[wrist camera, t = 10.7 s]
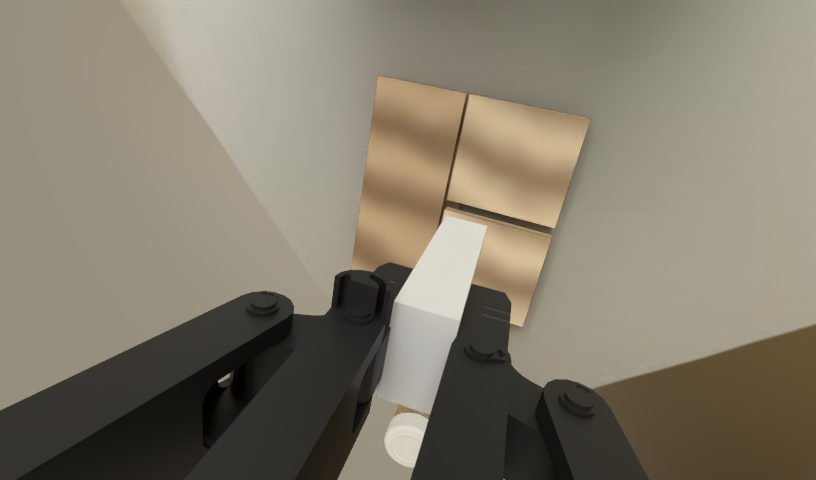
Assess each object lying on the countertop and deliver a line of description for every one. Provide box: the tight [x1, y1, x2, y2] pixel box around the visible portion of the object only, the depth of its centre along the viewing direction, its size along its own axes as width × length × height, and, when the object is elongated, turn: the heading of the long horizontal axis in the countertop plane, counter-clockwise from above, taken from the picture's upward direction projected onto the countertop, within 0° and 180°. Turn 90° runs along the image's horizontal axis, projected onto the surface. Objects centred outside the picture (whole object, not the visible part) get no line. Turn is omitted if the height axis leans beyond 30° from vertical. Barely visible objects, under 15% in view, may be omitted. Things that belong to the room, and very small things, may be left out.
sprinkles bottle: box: [384, 405, 430, 468], centre depth 43 cm, size 5×5×13 cm
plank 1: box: [447, 94, 590, 228], centre depth 39 cm, size 10×10×1 cm
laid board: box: [351, 76, 485, 272], centre depth 43 cm, size 20×10×2 cm, turn 170°
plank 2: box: [442, 207, 552, 327], centre depth 43 cm, size 10×10×1 cm
